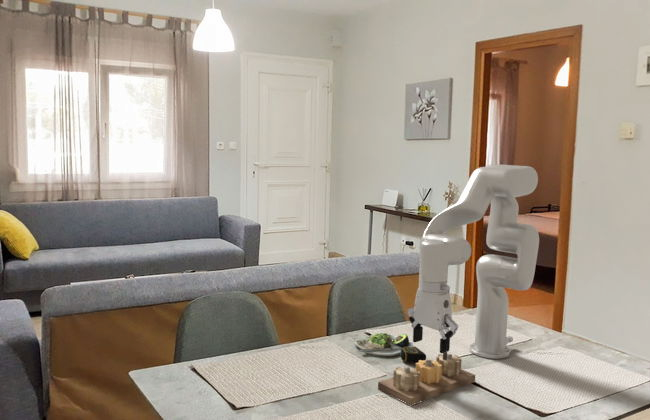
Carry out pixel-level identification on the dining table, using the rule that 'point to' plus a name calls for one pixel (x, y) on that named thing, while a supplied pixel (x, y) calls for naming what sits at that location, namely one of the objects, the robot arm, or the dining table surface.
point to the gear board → (414, 391)
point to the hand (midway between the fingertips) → (430, 346)
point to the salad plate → (383, 344)
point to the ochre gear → (429, 371)
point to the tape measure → (412, 354)
